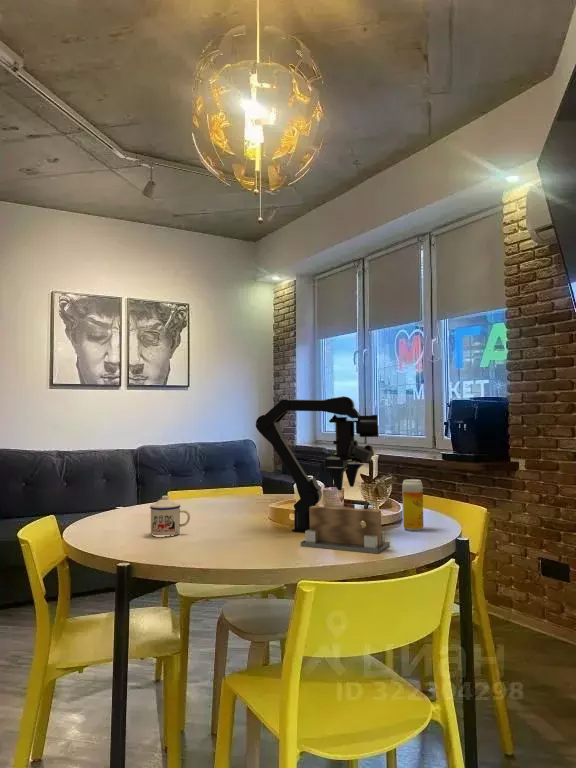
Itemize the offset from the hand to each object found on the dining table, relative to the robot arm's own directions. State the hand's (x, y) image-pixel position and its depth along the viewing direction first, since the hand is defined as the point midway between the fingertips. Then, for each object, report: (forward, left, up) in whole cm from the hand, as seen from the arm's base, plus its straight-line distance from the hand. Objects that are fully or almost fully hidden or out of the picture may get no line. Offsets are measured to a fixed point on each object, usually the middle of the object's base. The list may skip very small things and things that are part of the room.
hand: (345, 488), depth 181 cm
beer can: (+18, +11, -13) cm, 25 cm away
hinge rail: (+7, -18, -13) cm, 24 cm away
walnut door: (+7, -18, -12) cm, 23 cm away
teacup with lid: (-47, -25, -13) cm, 55 cm away
